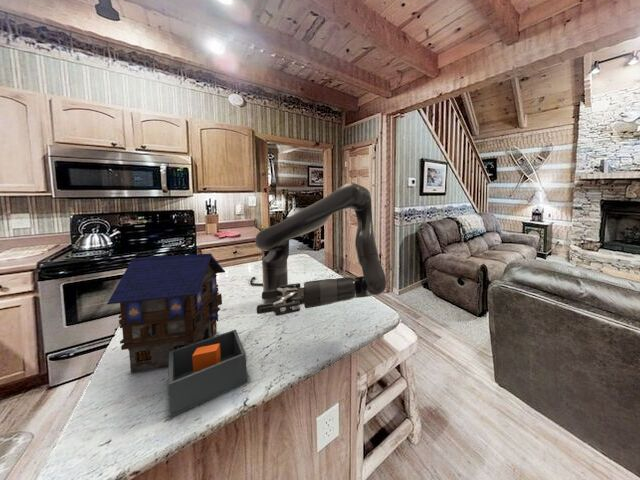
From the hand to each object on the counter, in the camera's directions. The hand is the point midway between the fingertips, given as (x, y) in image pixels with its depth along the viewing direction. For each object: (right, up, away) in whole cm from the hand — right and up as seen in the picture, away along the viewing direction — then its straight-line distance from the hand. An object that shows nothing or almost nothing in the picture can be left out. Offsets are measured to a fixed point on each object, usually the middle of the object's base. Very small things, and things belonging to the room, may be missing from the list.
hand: (259, 302), depth 70 cm
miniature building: (-28, -18, +7) cm, 34 cm away
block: (-11, -18, -4) cm, 22 cm away
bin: (-11, -19, -4) cm, 22 cm away
